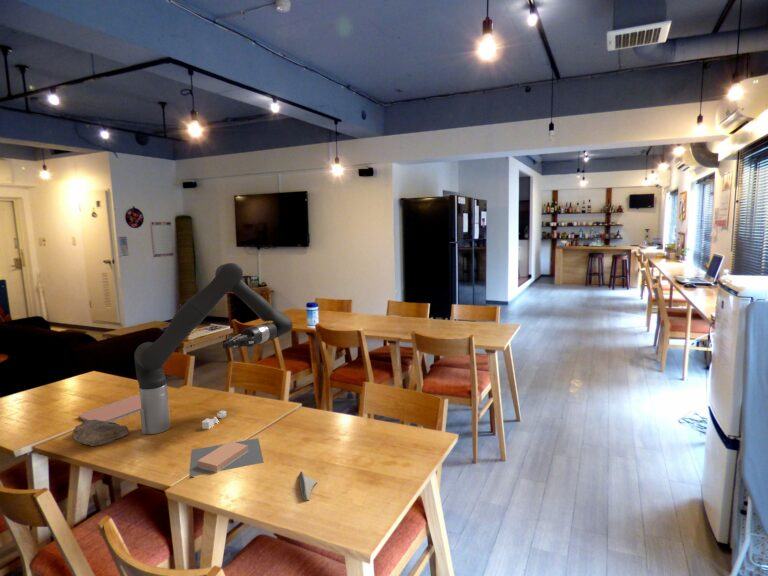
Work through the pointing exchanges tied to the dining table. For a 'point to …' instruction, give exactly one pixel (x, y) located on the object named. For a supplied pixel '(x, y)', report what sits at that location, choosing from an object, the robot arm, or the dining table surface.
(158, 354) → the robot arm
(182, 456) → the dining table surface
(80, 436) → the grey rock
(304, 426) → the dining table surface
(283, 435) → the dining table surface
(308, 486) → the ceramic fragment
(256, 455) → the mat
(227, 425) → the dining table surface
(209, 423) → the game pieces
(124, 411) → the notebook
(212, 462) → the tile
